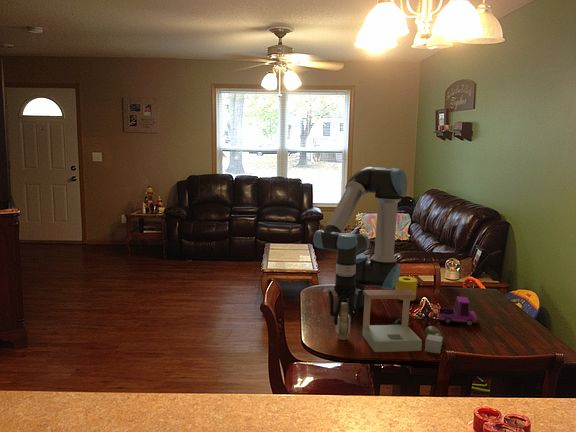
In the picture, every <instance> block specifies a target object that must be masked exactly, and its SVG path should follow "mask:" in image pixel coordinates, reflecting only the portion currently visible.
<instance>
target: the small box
mask: <svg viewBox="0 0 576 432" xmlns="http://www.w3.org/2000/svg"><path fill="white" fill-rule="evenodd" d="M443 337H444V336H443ZM443 337H441V336H435V335H430V334H428V335H427V337H426V338H425V343H424V344H425V345H424V352H427V353H428V352H429V353H432V354H437V353H439V354H441V351H442V346H443V345H442V338H443Z"/></svg>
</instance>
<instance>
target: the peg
mask: <svg viewBox="0 0 576 432" xmlns="http://www.w3.org/2000/svg"><path fill="white" fill-rule="evenodd" d="M348 315H349V304H348V303H344V302H342V303H341V306H340V310H339V317H340V328H339V334H337V340H341V341H347V339H348V333H347V331H348Z"/></svg>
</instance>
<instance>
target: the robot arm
mask: <svg viewBox="0 0 576 432" xmlns="http://www.w3.org/2000/svg"><path fill="white" fill-rule="evenodd" d="M407 190H408V180H407V174H406V173H405V171H404V170H403V169H401V168H396V167H381V166H380V167H379V166H367V167H364V168H362V169H359V170H358V171H356V172H355V173H354V174H353V175H352V176H351V177H350V178H349V180H348V181H347V183H346V185H345V191H344V193H343V194H342V196H341V198H340V200H339V201H338V203H337V205H336V207H335V209H334V211H333V212H332V214H331V216H330V218H329V220H328V222H327V223H326V225H325V227H324V229H318V230H316V231H315V232H314V233H313V238H312V241H313V245H314V247H315V248H317V249H321V250H322V249H323V250H328V251H335V252H336V260H335V261H336V262H335V263H336V265H335V273H336V274H335V283H334V287H333V288H332V289H327V290H326V291H327V294H328V305H329V306H328V313H329V314H330V316H331V317H333V324H334V325H335V333H336V334H337V335H338V334H339V328H340V317H339V310H340V306H341V303H342V302H344V303H348V304H349V311H348V331H347V334H351V325H353V323H354V317H355V316H359V310H362V309H363V310H364V299H365V295H364V294H363V290H367V286H370V287H374V288H380V289H381V290H394V289H395V288H396V284H397V282H398V280H399V277H400V276H401V270H402V269H401V265H400V264H398V263H397V261H398V258H396V257H395V244H396V231H397V230H396V229H397V215H398V205H399V204H398V203H400V202H401V200H402V197H403V196H406V194H407ZM368 193H369V194H370V193H371V194H374V199H375V200H376V201H377V209H376V210H377V212H376V227H375V237H374V238H375V240H374V253H373V255H371V257H370V259H369V257H368V255H365V254H364V253H365V252H366V251H368V250H369V248H370V245H371V242H370V241H371V240H370V238H369V236H368V235H366V234H364V233H356V234H355V233H347V232H344V231H345V229H346V227H347V225H348V223H349V222H350V219H351V218H352V216H353V214H354V212H355V210H356V209H357V207H358V204H359V203H360V201H361V199H362V198H364V197H365V196H366V194H368ZM343 232H344V233H343ZM335 294H337V295H336V300H334V295H335ZM334 301H336V303H334ZM334 304H335V305H334ZM334 306H335V307H334Z"/></svg>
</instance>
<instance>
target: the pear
mask: <svg viewBox="0 0 576 432" xmlns="http://www.w3.org/2000/svg"><path fill="white" fill-rule="evenodd" d="M428 334H430V335H435V336H441V337H443V338H442V346H444V344H445V342H446V341H445V337H444V336H443V334H442V332H441V330H440V329H439V328H437V327H436V326H433V325H428V326H427V327H426V328H425V330H424V335H425V337H426V338H427V335H428Z"/></svg>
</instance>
